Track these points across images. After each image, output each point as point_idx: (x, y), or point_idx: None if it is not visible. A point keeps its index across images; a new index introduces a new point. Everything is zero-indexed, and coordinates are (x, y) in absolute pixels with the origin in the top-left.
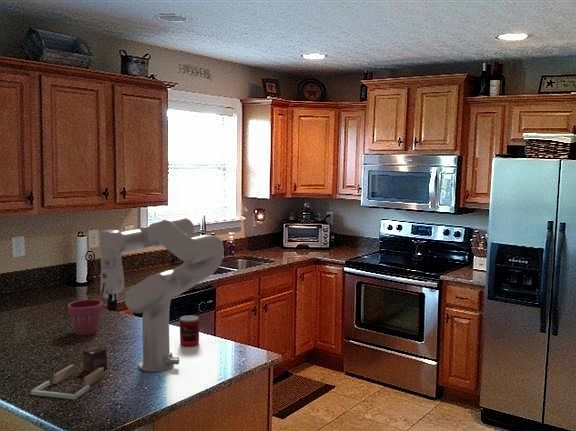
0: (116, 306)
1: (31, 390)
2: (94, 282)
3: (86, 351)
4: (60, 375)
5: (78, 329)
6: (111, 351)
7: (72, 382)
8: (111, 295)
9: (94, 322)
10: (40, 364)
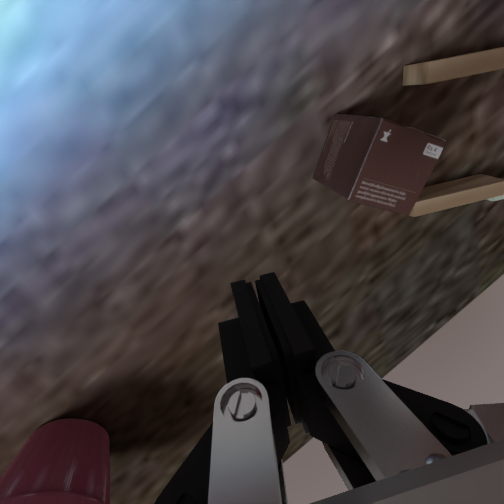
0: (252, 303)
1: None
2: None
3: (422, 188)
4: (482, 182)
5: (108, 451)
6: (171, 239)
7: (467, 137)
8: (435, 449)
9: (50, 456)
10: (355, 327)
